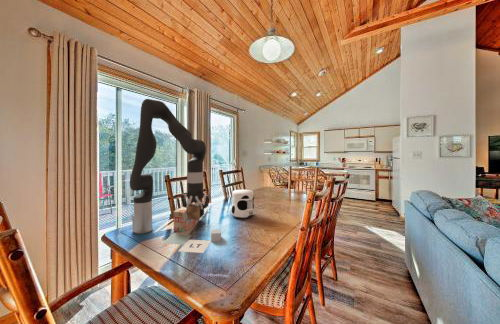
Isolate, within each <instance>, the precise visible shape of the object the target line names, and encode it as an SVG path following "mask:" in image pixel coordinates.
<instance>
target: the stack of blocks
mask: <svg viewBox="0 0 500 324" xmlns="http://www.w3.org/2000/svg"><path fill="white" fill-rule="evenodd" d="M172 214H173V220H172V221H173V232H182V233H184V232H186V231H187V230H188V229H191V227H193V226H194V225H196V223H197V222H199V221H200V219H199V220H197V219H187V209H186V208H185V207H183V206H181V207H180V208H178V209H176V210H173V213H172Z"/></svg>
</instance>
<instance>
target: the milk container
mask: <svg viewBox="0 0 500 324" xmlns="http://www.w3.org/2000/svg"><path fill="white" fill-rule="evenodd" d="M231 196H232V197H231V198H232V199H231V201H232V204H231V208H230V212H231V213H230V214H231V215H232V216H233V217H235V218H237V219H250V218H252V217H253V216H254V215H255V212H256V207H255V193H254V190H251V189H235V190H233V191H232V195H231Z"/></svg>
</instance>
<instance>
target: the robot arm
mask: <svg viewBox="0 0 500 324" xmlns="http://www.w3.org/2000/svg"><path fill="white" fill-rule="evenodd" d="M153 119H157V120H158V119H160V120H162V121H163V122H165V123H166V125H167V128H168V132H169V133H170V134H171V135H172V137H174V138H175V139H176V140H177V141H178V142H179V144H180V146H181V148H182V149H183V150H184V152H185V153H187V154H189V155H192V157H191V159H189V160H188V161H187V175H186V176H187V177H186V179H187V180H186V193H183V194H181V195H180V201H181V207H185V208H186V209H187V206H190V204H192V203H197V204H198V205H199V206H200V208H201V209H200V217H201V218H202V217H203V216H204V215H205V209H207V208H208V207H209V203H210V198H211V195H210V194H205V193H204V180H205V179H204V160H205V157H206V153H207V146H206V143H205V141H203V140H202V139H194V138H193V136H192V133H191V132H190V130H189V129H187V127H185V125H183V124H182V123H181V122H180V121H179V119H177V118H176V116H175V114H173V113H172V110H170V108H169V107H168V106H167V105H166V103H165V102H163V101H162V100H158V99H157V100H156V99H152V98H145V99H144V100H143V101H142V103H141V107H140V121H139V132H138V136H137V137H138V138H137V143H136V148H135V149H136V150H135V157H134V163H133V167H132V171H131V173H130V178H129V188H130V189H131V190H132V191H133V192H134V191H136V192H137V191H141V192H140V193H138V195H135V196H134V197H133V215H132V217H131V218H132V220H131V221H132V225H131V227H132V233H135V234H139V235H140V234H141V235H142V234H146V233H150V232H151V231H152V230H153V196H154V195H153V192H154V179H153V175H152V174H151V173H145V172H144V173H143V171H144V169H145V167H146V166H147V165H148V164H149V163H150V161H152V159H153V158H154V156H155V154H156V151H157V144H158V143H157V138H156V137H155V134H154V132H153V128H152V127H153ZM203 198H204V200H203ZM187 199H188V201H187Z"/></svg>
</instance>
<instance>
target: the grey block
mask: <svg viewBox="0 0 500 324" xmlns="http://www.w3.org/2000/svg"><path fill="white" fill-rule="evenodd" d="M210 241H211V242H210V243H215V242H222V228H220V229H219V228H218V229H211V230H210Z"/></svg>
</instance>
